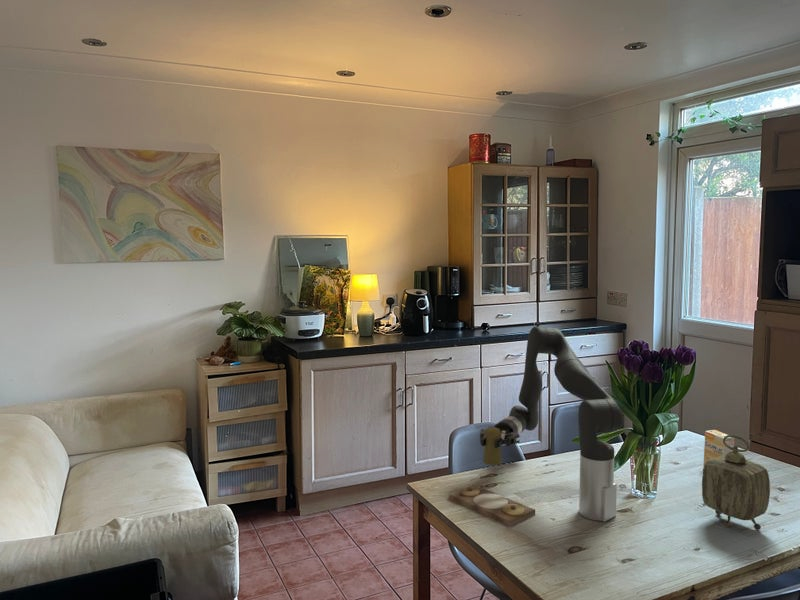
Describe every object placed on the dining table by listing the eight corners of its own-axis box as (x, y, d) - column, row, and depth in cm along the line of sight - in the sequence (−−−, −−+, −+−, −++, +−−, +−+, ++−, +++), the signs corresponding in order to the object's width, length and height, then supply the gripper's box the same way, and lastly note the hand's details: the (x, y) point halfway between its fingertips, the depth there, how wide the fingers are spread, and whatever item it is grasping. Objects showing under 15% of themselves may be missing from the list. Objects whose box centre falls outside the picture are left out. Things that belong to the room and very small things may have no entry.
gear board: (535, 514, 170) (535, 504, 170) (510, 526, 163) (510, 516, 163) (473, 489, 188) (473, 480, 188) (448, 498, 181) (448, 489, 181)
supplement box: (702, 467, 205) (703, 430, 204) (713, 466, 206) (715, 429, 205) (722, 476, 197) (723, 437, 196) (733, 474, 198) (735, 436, 197)
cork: (500, 458, 193) (499, 424, 192) (503, 464, 187) (503, 430, 186) (481, 458, 193) (481, 425, 192) (484, 465, 187) (484, 430, 186)
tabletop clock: (768, 531, 159) (772, 440, 157) (749, 540, 154) (754, 446, 152) (715, 511, 171) (718, 426, 169) (696, 518, 167) (700, 431, 164)
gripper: (488, 416, 205) (468, 429, 190) (528, 421, 198) (510, 435, 183) (488, 437, 205) (468, 452, 191) (528, 443, 198) (510, 459, 184)
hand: (489, 444), depth 187 cm, fingers closed on cork, 4 cm apart
